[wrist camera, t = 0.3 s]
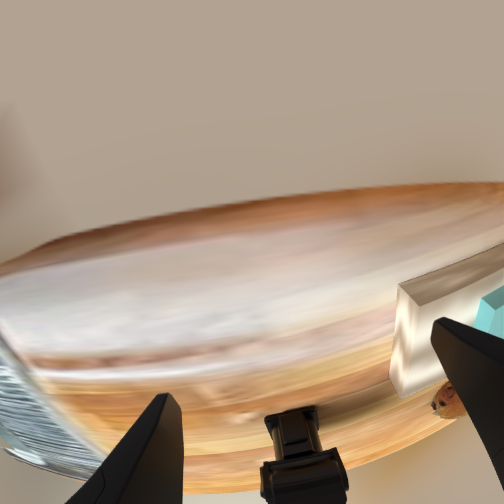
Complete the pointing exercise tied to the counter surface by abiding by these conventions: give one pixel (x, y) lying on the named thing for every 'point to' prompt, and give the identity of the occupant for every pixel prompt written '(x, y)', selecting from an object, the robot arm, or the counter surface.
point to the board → (438, 315)
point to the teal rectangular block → (491, 313)
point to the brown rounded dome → (448, 403)
